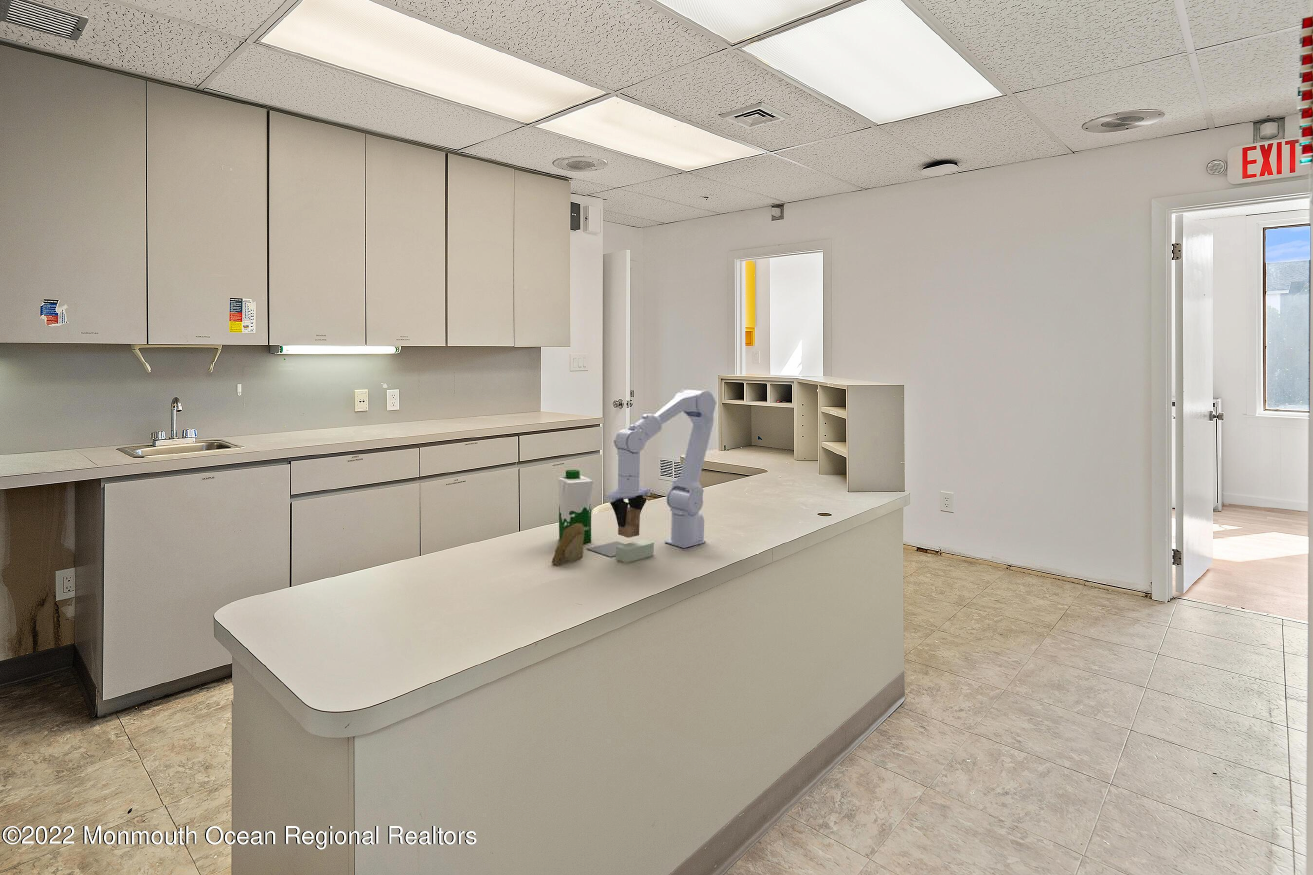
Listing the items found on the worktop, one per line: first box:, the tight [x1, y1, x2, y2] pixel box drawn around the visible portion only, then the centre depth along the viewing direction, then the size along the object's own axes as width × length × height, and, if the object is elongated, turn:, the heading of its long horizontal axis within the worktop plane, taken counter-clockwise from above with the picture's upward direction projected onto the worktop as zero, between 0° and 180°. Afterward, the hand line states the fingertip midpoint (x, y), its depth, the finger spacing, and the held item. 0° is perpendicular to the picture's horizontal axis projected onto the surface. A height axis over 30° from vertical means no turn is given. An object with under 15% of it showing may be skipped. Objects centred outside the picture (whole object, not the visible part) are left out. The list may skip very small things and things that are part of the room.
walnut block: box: [617, 506, 641, 539], centre depth 183 cm, size 4×4×7 cm
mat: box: [586, 540, 625, 558], centre depth 189 cm, size 11×10×1 cm
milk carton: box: [557, 469, 594, 544], centre depth 196 cm, size 9×9×20 cm
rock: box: [550, 523, 584, 566], centre depth 178 cm, size 11×9×10 cm
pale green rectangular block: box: [615, 539, 655, 564], centre depth 182 cm, size 10×4×4 cm, turn 135°
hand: (627, 524), depth 183 cm, fingers closed on walnut block, 4 cm apart
